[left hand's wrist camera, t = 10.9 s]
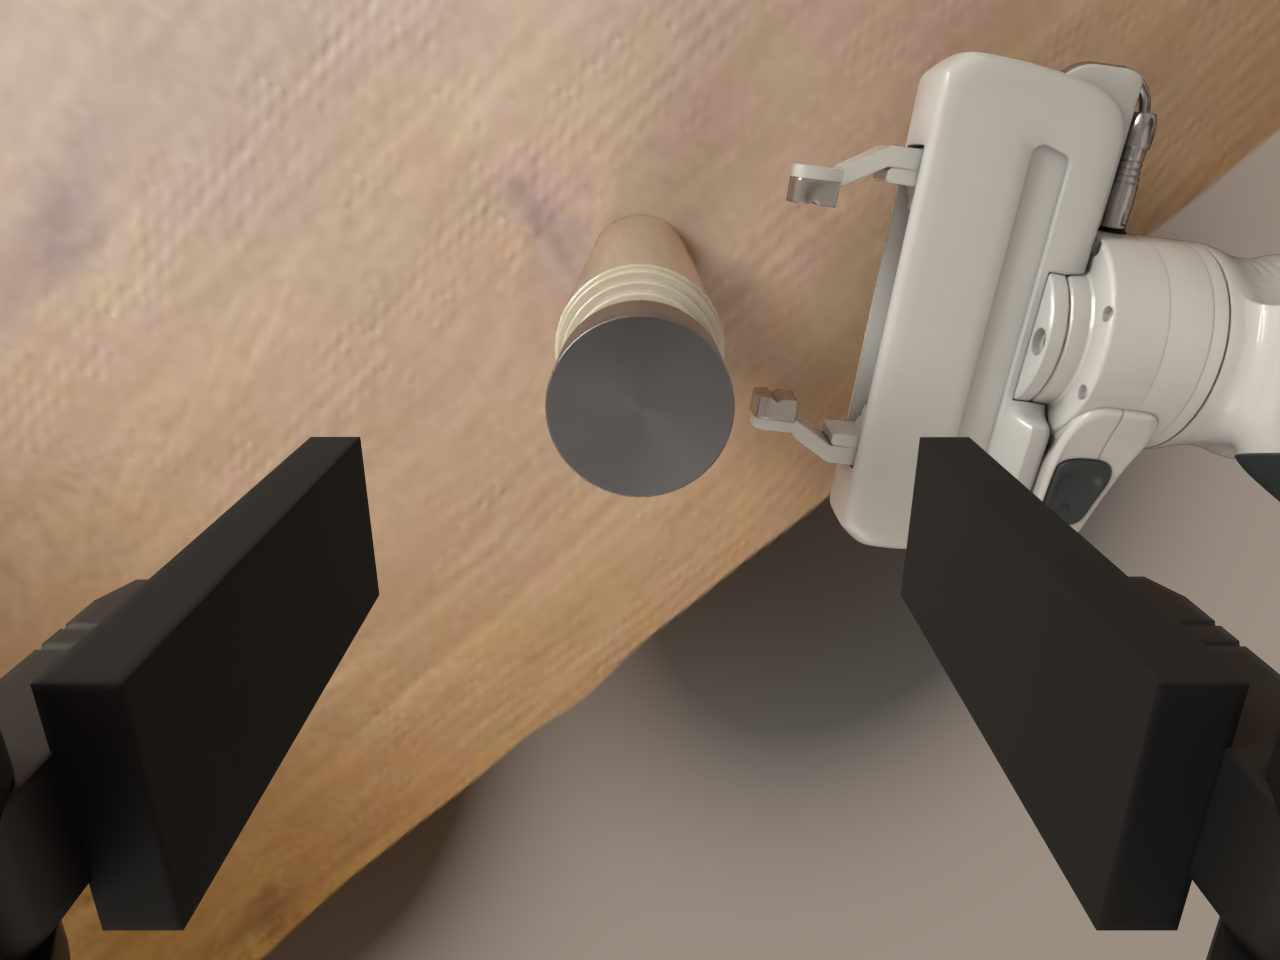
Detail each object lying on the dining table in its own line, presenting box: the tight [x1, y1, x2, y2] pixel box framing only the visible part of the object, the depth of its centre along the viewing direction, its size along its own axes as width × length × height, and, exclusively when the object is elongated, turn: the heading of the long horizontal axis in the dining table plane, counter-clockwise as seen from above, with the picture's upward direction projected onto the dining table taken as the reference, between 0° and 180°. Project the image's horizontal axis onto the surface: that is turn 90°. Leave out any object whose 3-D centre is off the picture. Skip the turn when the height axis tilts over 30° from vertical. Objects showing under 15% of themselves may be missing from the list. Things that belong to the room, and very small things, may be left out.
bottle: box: [555, 215, 725, 361], centre depth 31 cm, size 5×5×24 cm
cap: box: [545, 300, 735, 497], centre depth 20 cm, size 4×4×2 cm
